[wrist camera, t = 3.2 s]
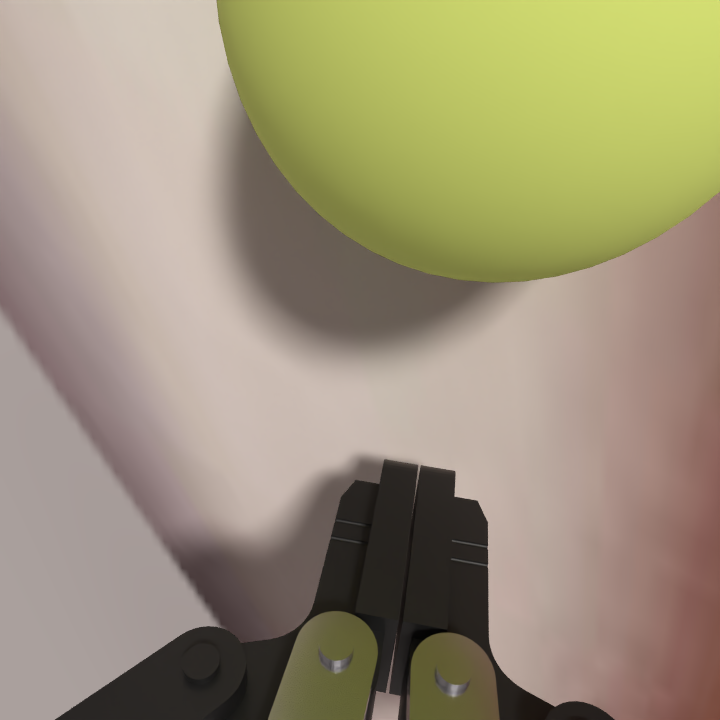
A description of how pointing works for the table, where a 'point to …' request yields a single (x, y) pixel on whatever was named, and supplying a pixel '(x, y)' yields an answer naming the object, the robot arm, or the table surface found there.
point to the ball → (486, 123)
